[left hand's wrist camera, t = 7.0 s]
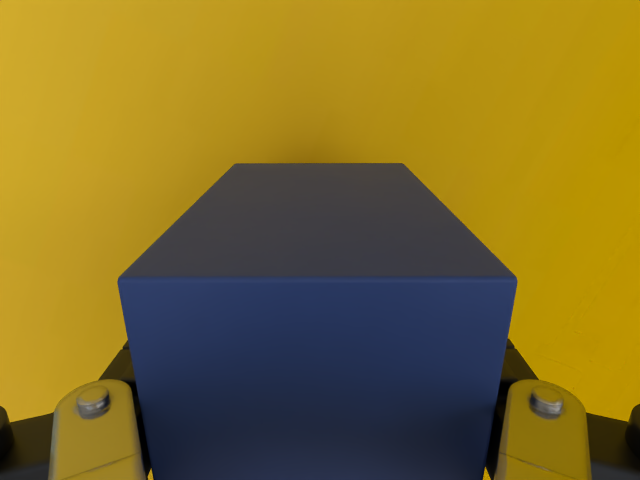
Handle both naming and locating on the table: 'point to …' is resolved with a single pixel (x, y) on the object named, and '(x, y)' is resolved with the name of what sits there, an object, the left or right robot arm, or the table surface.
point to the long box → (317, 330)
